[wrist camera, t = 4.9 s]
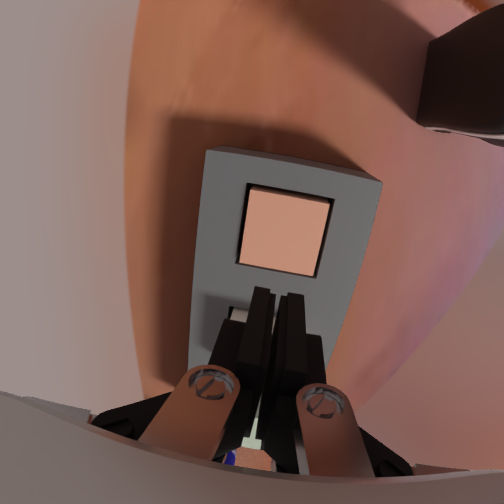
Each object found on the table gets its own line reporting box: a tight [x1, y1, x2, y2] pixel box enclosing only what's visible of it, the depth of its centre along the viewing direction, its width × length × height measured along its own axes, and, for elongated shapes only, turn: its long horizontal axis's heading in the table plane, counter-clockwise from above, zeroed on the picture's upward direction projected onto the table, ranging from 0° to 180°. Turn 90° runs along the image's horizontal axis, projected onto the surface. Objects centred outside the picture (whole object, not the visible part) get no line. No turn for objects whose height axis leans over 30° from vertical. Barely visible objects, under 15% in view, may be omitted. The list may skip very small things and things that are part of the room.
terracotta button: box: [239, 184, 330, 276], centre depth 20 cm, size 4×4×3 cm
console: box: [188, 146, 383, 370], centre depth 24 cm, size 24×10×4 cm, turn 172°
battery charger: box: [416, 4, 504, 147], centre depth 12 cm, size 7×4×11 cm, turn 169°
